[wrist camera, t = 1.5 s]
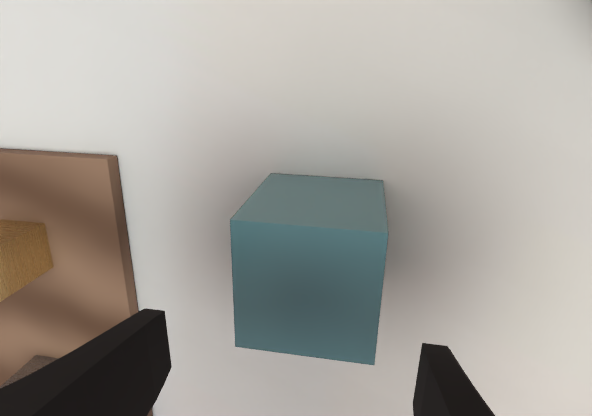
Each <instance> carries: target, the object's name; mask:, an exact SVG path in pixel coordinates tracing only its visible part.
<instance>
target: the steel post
mask: <svg viewBox="0 0 592 416" xmlns="http://www.w3.org/2000/svg"><path fill="white" fill-rule="evenodd" d="M57 359H59V358H54V357H47V356H40V355H35V356H34V357H33V358H32V359H31V360H30V361H28V362H27V363H26V364H25V365H24V366H23V367H22V368H21V369H19V370H18V371H17V372H16V373H15V374H14V375H13V376H11V377H10V378H9V379H8V380H7V381H6V382H5V383H3V384H2V385H1V386H0V388H3V387H5V386H7V385H9V384H11V383H13V382H15V381H17V380H19V379H21V378H23V377H25V376H27V375H29V374H31V373H33V372H35V371H37V370H39V369H41V368H42V367H44V366H46V365H48V364H50V363H52V362H53V361H55V360H57Z"/></svg>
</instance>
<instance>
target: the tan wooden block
mask: <svg viewBox="0 0 592 416" xmlns="http://www.w3.org/2000/svg"><path fill="white" fill-rule="evenodd" d="M53 267H54V265H53V260H52V255H51V251H50V246H49V241H48V237H47V232H46V227H45V223H36V222H25V221H14V220H4V219H1V220H0V302H1V301H2V300H4V299H5V298H7V297H9V296H10V295H12V294H13V293H15V292H16V291H18V290H19V289H21V288H22V287H24V286H25V285H27V284H28V283H30V282H32V281H33V280H35V279H36V278H38V277H39V276H41V275H42V274H44V273H45V272H47V271H48V270H50V269H51V268H53Z"/></svg>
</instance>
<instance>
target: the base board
mask: <svg viewBox="0 0 592 416" xmlns="http://www.w3.org/2000/svg"><path fill="white" fill-rule="evenodd" d="M1 219H4V220H14V221H25V222H36V223H45V227H46V232H47V237H48V241H49V246H50V251H51V255H52V260H53V265H54V267H53V268H51V269H50V270H48V271H47V272H45V273H44V274H42V275H41V276H39V277H38V278H36V279H35V280H33V281H32V282H30V283H28V284H27V285H25V286H24V287H22V288H21V289H19V290H18V291H16V292H15V293H13V294H12V295H10V296H9V297H7V298H5V299H4V300H2V301H1V302H0V386H1V385H2V384H3V383H5V382H6V381H7V380H8V379H9V378H10V377H11V376H13V375H14V374H15V373H16V372H17V371H18V370H19V369H21V368H22V367H23V366H24V365H25V364H26V363H27V362H28V361H30V360H31V359H32V358H33V357H34V356H35V355H40V356H47V357H54V358H61V357H62V356H64V355H66V354H68V353H70V352H72V351H73V350H75V349H77V348H79V347H80V346H82V345H84V344H85V343H87V342H89V341H90V340H92V339H94V338H95V337H97V336H99V335H100V334H102V333H104V332H105V331H107V330H109V329H110V328H112V327H114V326H115V325H117V324H119V323H120V322H122V321H124V320H125V319H127V318H129V317H131V316H132V315H134V314H136V313H138V306H137V299H136V292H135V285H134V277H133V270H132V263H131V256H130V248H129V241H128V234H127V227H126V219H125V212H124V205H123V198H122V191H121V183H120V176H119V169H118V162H117V156H113V155H97V154H81V153H64V152H48V151H32V150H15V149H0V220H1ZM147 416H153V415H152V408H151V410H150V411H149V413H148V415H147Z"/></svg>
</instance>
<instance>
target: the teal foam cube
mask: <svg viewBox="0 0 592 416" xmlns="http://www.w3.org/2000/svg"><path fill="white" fill-rule="evenodd" d="M230 229H231V253H232V277H233V301H234V325H235V347H242V348H249V349H257V350H264V351H272V352H279V353H287V354H294V355H301V356H309V357H316V358H324V359H331V360H339V361H346V362H354V363H361V364H369V365H374V363H375V353H376V344H377V335H378V325H379V316H380V306H381V297H382V288H383V278H384V269H385V259H386V250H387V240H388V225H387V215H386V206H385V196H384V186H383V181H382V180H367V179H351V178H335V177H320V176H304V175H289V174H273V173H271V174H270V175H269V176H268V177H267V178H266V180H265V181H264V182H263V183H262V184H261V185H260V186H259V188H258V189H257V190H256V191H255V192H254V193H253V194H252V195H251V197H250V198H249V199H248V200H247V201H246V202H245V203H244V205H243V206H242V207H241V208H240V209H239V210H238V211H237V212H236V214H235V215H234V216H233V217H232V218H231V219H230Z"/></svg>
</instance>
